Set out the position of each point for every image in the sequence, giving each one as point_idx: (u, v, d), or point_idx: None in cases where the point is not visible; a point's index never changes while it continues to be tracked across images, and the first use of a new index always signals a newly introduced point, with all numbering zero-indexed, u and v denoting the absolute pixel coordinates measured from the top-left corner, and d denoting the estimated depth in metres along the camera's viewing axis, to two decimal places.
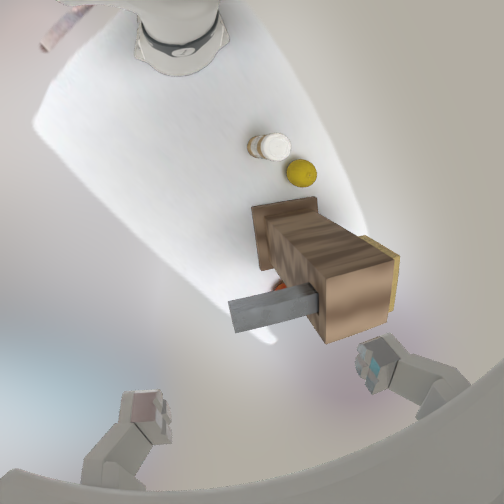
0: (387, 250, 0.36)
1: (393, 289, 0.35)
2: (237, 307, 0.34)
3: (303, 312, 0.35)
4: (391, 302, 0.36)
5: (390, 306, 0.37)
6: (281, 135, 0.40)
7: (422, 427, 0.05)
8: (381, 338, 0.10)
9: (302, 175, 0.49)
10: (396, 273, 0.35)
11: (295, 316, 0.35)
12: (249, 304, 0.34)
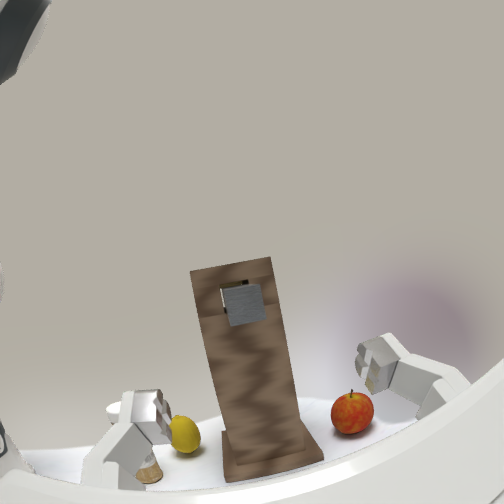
0: None
1: None
2: (226, 304, 0.23)
3: (243, 285, 0.32)
4: None
5: None
6: (111, 404, 0.31)
7: (421, 427, 0.05)
8: (381, 338, 0.10)
9: (176, 421, 0.37)
10: None
11: (247, 284, 0.31)
12: None
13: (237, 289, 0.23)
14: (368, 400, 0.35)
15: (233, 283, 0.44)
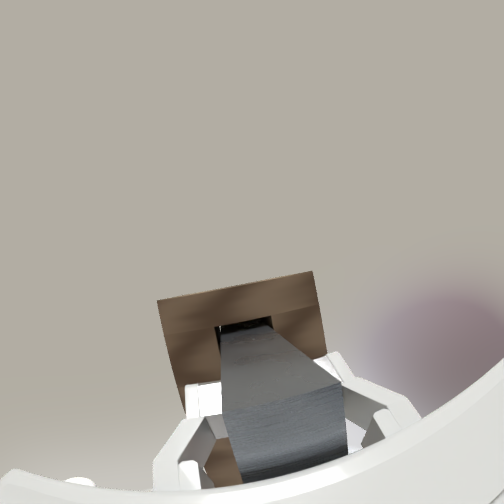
0: None
1: None
2: None
3: (263, 332, 0.15)
4: None
5: None
6: (65, 481, 0.14)
7: (422, 427, 0.05)
8: (325, 357, 0.10)
9: None
10: None
11: (272, 334, 0.14)
12: None
13: (268, 407, 0.06)
14: None
15: None
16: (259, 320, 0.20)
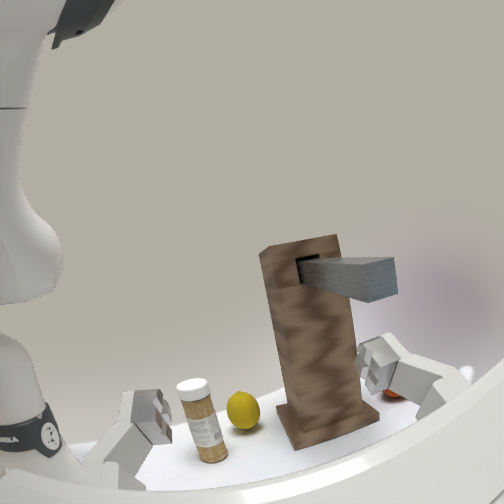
0: None
1: None
2: (359, 279, 0.21)
3: (341, 258, 0.29)
4: None
5: None
6: (180, 383, 0.36)
7: (421, 427, 0.05)
8: (381, 338, 0.10)
9: (238, 397, 0.41)
10: None
11: (348, 258, 0.28)
12: (350, 278, 0.22)
13: (375, 263, 0.20)
14: None
15: None
16: None
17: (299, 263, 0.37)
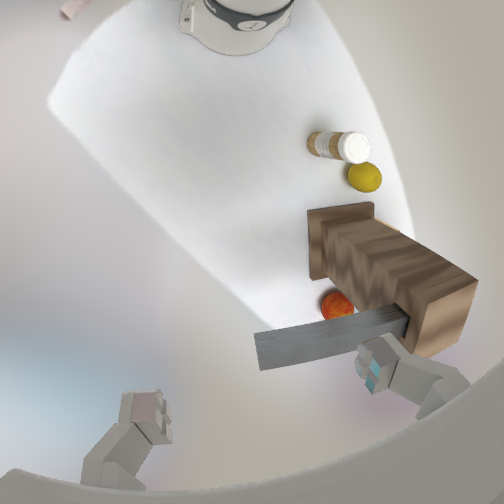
0: (389, 226, 0.46)
1: None
2: (264, 342, 0.28)
3: (339, 350, 0.29)
4: None
5: None
6: (362, 135, 0.33)
7: (422, 427, 0.05)
8: (381, 337, 0.10)
9: (369, 179, 0.42)
10: None
11: (330, 354, 0.29)
12: (279, 340, 0.28)
13: None
14: None
15: None
16: None
17: (403, 316, 0.28)
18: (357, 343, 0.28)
